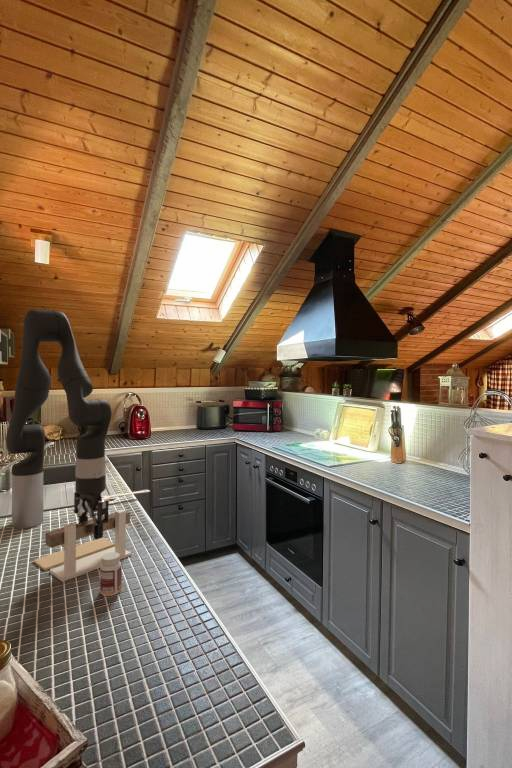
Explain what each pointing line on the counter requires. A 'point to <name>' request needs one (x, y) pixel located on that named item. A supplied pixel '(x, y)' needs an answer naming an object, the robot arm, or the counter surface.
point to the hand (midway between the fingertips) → (90, 534)
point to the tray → (81, 551)
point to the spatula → (122, 495)
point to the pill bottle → (110, 574)
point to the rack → (92, 561)
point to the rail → (80, 530)
